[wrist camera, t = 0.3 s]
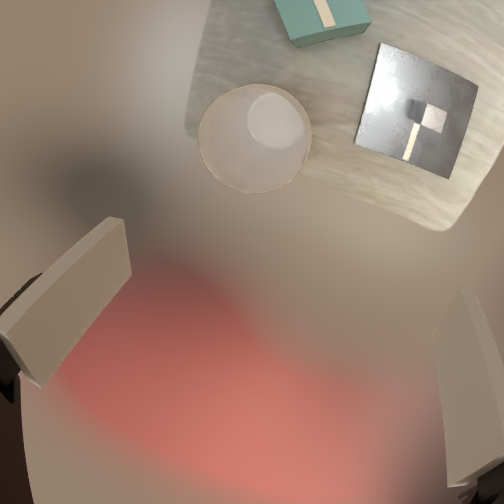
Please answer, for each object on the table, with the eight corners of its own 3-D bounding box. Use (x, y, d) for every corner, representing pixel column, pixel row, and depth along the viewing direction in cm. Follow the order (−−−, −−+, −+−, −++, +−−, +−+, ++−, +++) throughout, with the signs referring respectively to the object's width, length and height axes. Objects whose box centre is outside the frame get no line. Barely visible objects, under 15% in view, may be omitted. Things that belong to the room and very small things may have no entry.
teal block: (274, -9, 24) (260, -29, 18) (339, -24, 22) (341, -49, 15) (297, 47, 28) (289, 39, 21) (363, 32, 25) (372, 20, 19)
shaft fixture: (379, 43, 25) (389, 36, 20) (474, 85, 24) (499, 89, 19) (354, 142, 32) (358, 154, 27) (445, 176, 31) (463, 195, 26)
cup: (225, 137, 35) (181, 166, 25) (256, 69, 30) (220, 66, 20) (294, 172, 35) (277, 214, 26) (330, 105, 30) (331, 118, 20)
